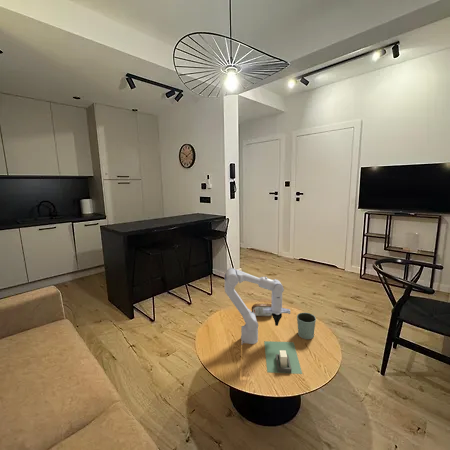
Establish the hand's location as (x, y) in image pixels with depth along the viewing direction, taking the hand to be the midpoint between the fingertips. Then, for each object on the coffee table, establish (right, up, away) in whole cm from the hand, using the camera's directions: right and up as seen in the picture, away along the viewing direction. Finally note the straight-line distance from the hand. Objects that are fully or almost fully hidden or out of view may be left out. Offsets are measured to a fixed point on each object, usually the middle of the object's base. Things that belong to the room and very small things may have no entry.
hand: (276, 324), depth 137 cm
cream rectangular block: (-1, -12, -18) cm, 21 cm away
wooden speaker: (-4, -5, +26) cm, 27 cm away
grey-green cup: (+18, -8, +4) cm, 20 cm away
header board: (0, -12, -12) cm, 17 cm away
